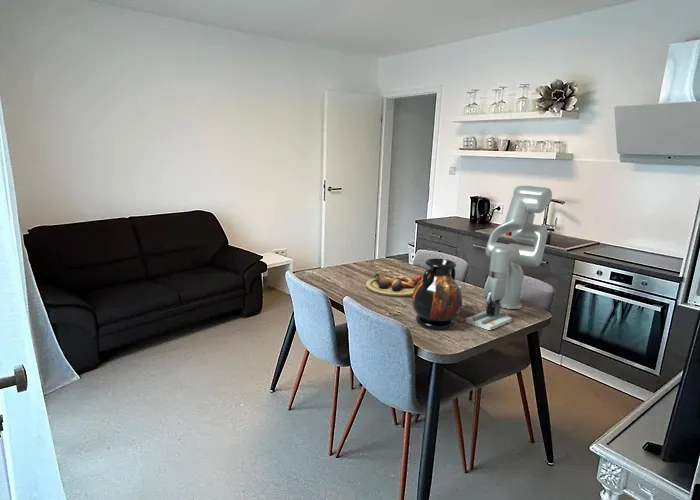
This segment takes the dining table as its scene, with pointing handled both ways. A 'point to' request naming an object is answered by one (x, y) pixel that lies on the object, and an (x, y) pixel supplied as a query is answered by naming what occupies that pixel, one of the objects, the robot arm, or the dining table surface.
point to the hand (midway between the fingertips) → (492, 313)
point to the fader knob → (497, 309)
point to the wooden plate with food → (392, 285)
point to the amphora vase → (437, 296)
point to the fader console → (488, 320)
